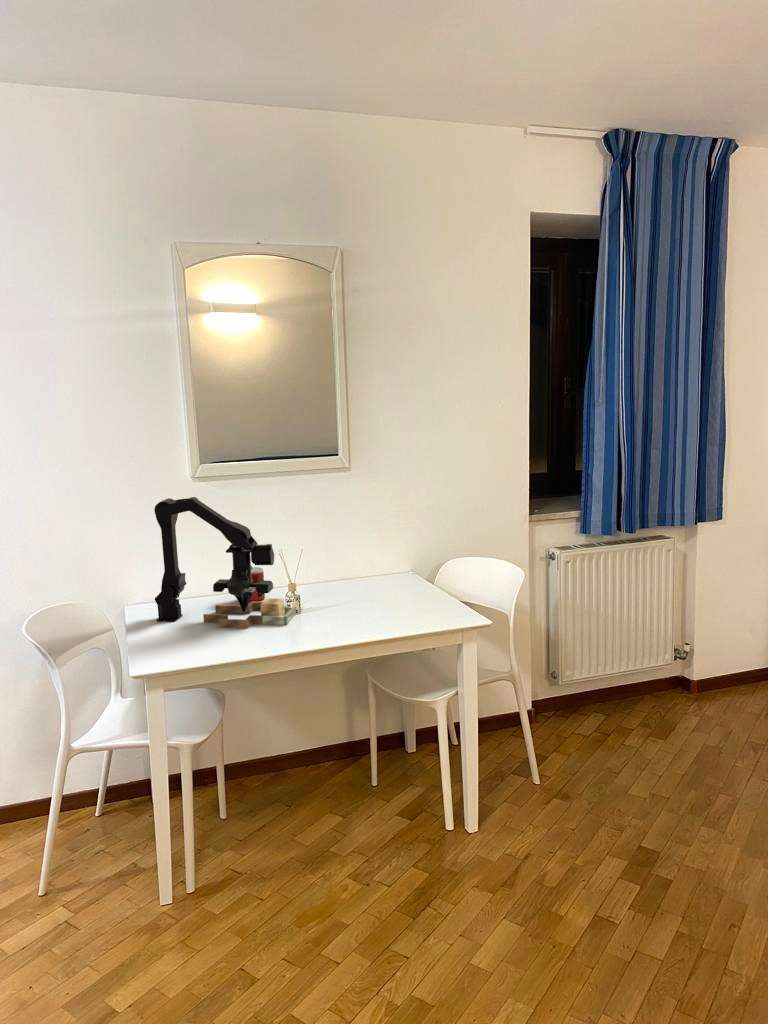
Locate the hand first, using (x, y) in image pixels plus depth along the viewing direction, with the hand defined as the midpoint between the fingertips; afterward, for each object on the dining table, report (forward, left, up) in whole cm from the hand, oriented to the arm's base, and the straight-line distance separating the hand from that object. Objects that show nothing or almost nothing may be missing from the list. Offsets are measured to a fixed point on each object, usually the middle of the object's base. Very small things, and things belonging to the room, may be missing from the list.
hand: (244, 611), depth 249 cm
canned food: (-4, +20, -2) cm, 21 cm away
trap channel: (+2, 0, -2) cm, 3 cm away
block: (+10, 0, -2) cm, 10 cm away
